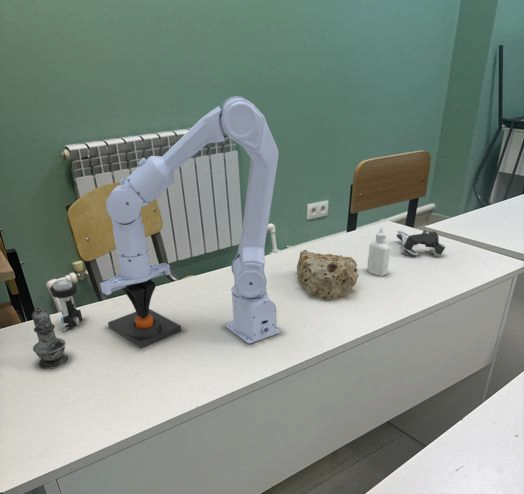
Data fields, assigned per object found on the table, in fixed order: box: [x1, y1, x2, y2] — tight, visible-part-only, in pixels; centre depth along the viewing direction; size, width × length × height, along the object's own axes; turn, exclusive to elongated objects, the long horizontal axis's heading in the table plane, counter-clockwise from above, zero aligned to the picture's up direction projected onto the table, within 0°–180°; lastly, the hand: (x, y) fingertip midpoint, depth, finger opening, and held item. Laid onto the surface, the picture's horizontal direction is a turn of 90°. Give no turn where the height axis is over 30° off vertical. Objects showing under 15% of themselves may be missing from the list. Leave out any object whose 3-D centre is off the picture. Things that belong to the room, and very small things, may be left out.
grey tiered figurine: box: [31, 305, 69, 370], centre depth 90 cm, size 6×6×12 cm
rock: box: [296, 249, 359, 301], centre depth 121 cm, size 21×14×10 cm
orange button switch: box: [107, 308, 182, 349], centre depth 103 cm, size 13×10×3 cm
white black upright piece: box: [49, 278, 83, 332], centre depth 103 cm, size 7×5×10 cm
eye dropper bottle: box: [366, 228, 391, 277], centre depth 126 cm, size 4×6×12 cm
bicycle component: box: [396, 230, 446, 257], centre depth 142 cm, size 12×7×15 cm
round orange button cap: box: [135, 314, 153, 328], centre depth 99 cm, size 4×4×2 cm
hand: (142, 315), depth 98 cm, fingers closed
